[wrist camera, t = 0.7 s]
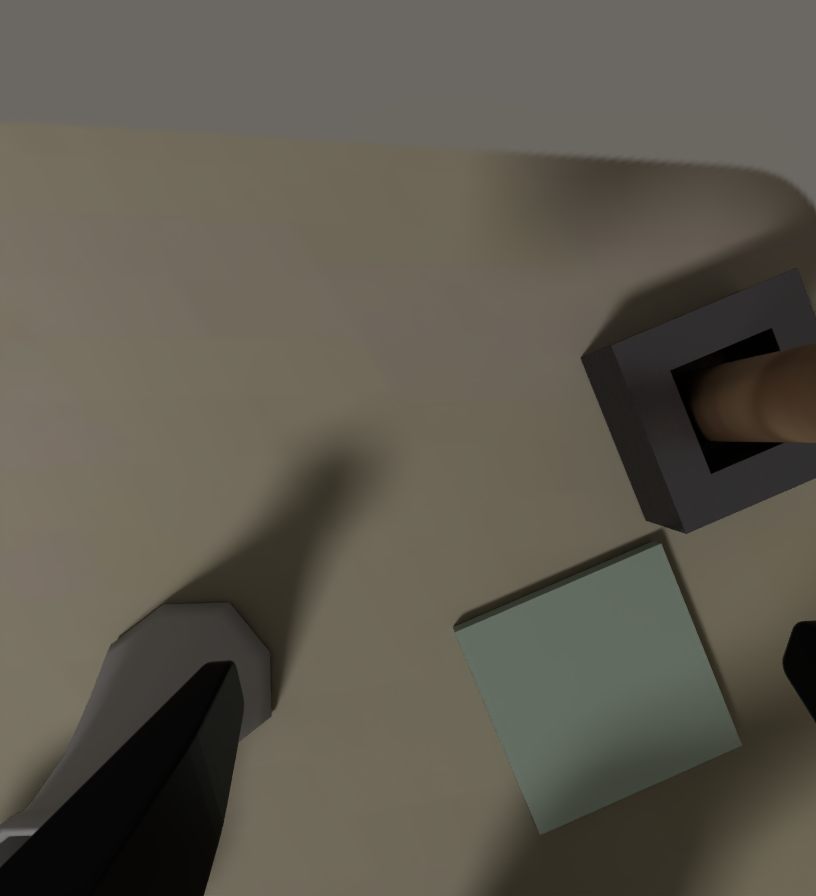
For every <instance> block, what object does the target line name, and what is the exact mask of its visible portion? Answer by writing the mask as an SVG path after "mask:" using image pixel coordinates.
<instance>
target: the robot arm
mask: <svg viewBox="0 0 816 896" xmlns="http://www.w3.org/2000/svg"><path fill="white" fill-rule="evenodd" d="M782 664H783V669H784V672H785V674H786V676H787V678H788V679H789V681H790V683H791V684H792V686H793V687H794V689H795V690H796V692H797V694H798V695H799V697H800V698H801V700H802V702H803V703H804V705H805V706H806V708H807V709H808V711H809V713H810V714H811V716H812V717H813V719H814V721H815V722H816V621H802V622H798V623H797V624H796V625H795V626H794V627H793V629H792V632H791V635H790V638H789V641H788V644H787V647H786V650H785V653H784V656H783V659H782ZM243 714H244V697H243V692H242V688H241V684H240V679H239V675H238V670H237V667H236V664H235V663H234V662H233V661H231V660H225V661H211V662H208V663H206V664H204V665H203V666H202V667H201V668H200V669H199V670H198V671H197V672H196V673H195V674H194V675H193V676H192V677H191V678H190V679H189V680H188V681H187V682H186V683H185V684H184V685H183V686H182V687H181V688H180V689H179V690H178V691H177V692H176V693H175V694H174V695H173V696H172V697H171V698H170V699H169V700H168V701H167V702H166V703H165V704H164V705H163V706H162V707H161V708H160V709H159V710H158V711H157V712H156V713H155V714H154V715H153V716H152V717H151V718H150V719H149V720H148V721H147V722H146V723H145V724H143V725H142V726H141V727H140V728H139V729H138V730H137V731H136V732H135V733H134V734H133V735H132V736H131V737H130V738H129V739H128V740H127V741H126V742H125V743H124V744H123V745H122V746H121V747H120V748H119V749H118V750H117V751H116V752H115V753H114V754H113V755H112V756H111V757H110V758H109V759H108V760H107V761H106V762H105V763H104V764H103V765H102V766H101V767H100V768H99V769H98V770H97V771H96V772H95V773H94V774H93V775H92V776H91V777H90V778H89V779H88V780H87V781H86V782H85V783H84V784H83V785H82V786H81V787H80V788H79V789H78V790H77V791H76V792H75V793H74V794H73V795H72V796H71V797H70V798H69V799H68V800H67V801H66V802H65V803H64V804H63V805H62V806H61V807H60V808H59V809H58V810H57V811H56V812H55V813H54V814H53V815H52V816H51V817H50V818H49V819H48V820H47V821H46V822H45V823H44V824H43V825H42V826H41V827H40V828H39V829H38V830H37V831H36V832H35V833H34V834H33V835H32V836H31V837H30V838H29V839H28V840H27V841H26V842H25V843H24V844H23V845H22V846H21V847H20V848H19V849H18V850H17V851H16V852H15V853H14V854H13V855H12V856H11V857H10V858H9V859H8V860H7V861H6V862H5V863H4V864H3V865H2V866H1V867H0V896H204V893H205V890H206V886H207V882H208V879H209V875H210V872H211V868H212V865H213V861H214V857H215V854H216V850H217V847H218V843H219V839H220V835H221V831H222V827H223V823H224V818H225V813H226V808H227V803H228V797H229V792H230V786H231V781H232V775H233V770H234V764H235V759H236V753H237V747H238V742H239V736H240V731H241V725H242V720H243Z"/></svg>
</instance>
